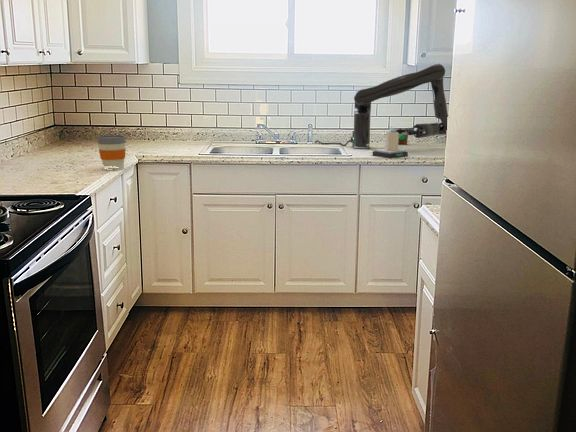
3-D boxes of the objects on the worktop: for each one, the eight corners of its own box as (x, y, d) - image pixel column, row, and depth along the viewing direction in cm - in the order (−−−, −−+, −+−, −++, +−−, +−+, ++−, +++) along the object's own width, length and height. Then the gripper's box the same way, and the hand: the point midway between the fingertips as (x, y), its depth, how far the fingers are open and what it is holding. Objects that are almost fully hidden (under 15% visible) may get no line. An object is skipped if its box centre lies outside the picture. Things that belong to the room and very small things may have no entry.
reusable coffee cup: (104, 166, 295) (102, 135, 291) (130, 166, 294) (128, 135, 291) (95, 171, 283) (93, 138, 279) (123, 171, 282) (120, 138, 278)
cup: (383, 149, 325) (383, 132, 323) (391, 148, 329) (392, 131, 327) (391, 151, 320) (392, 133, 318) (400, 150, 324) (401, 132, 322)
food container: (386, 144, 370) (386, 127, 368) (389, 143, 376) (390, 126, 373) (406, 145, 365) (406, 128, 363) (409, 144, 370) (410, 127, 368)
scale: (372, 155, 326) (372, 149, 325) (389, 153, 334) (389, 147, 333) (390, 158, 316) (391, 152, 315) (408, 156, 323) (408, 150, 323)
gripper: (413, 122, 341) (393, 124, 332) (433, 124, 330) (413, 126, 321) (412, 136, 343) (392, 138, 334) (433, 138, 332) (412, 140, 323)
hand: (402, 132), depth 327 cm, fingers open, 8 cm apart
